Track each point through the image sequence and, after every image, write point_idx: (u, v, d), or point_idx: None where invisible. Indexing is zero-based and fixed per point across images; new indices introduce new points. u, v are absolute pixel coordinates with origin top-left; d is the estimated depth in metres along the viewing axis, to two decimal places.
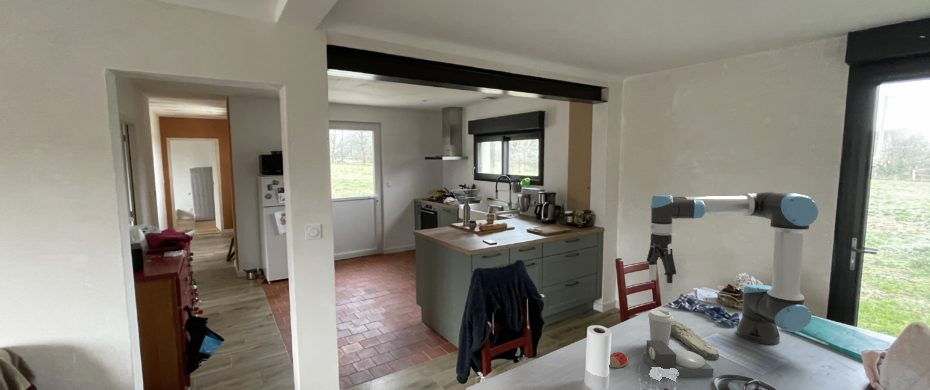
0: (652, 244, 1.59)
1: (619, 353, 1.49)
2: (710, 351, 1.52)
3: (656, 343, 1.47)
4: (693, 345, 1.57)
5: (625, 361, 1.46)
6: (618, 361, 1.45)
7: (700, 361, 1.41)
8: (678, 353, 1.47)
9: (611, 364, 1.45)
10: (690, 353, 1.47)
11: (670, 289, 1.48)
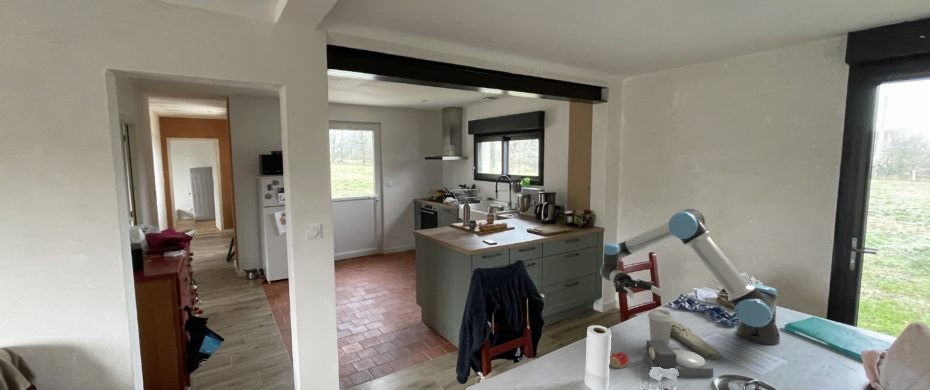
0: None
1: (620, 353, 1.49)
2: (711, 350, 1.52)
3: (656, 343, 1.47)
4: (693, 345, 1.57)
5: (626, 361, 1.46)
6: (619, 361, 1.45)
7: (700, 361, 1.41)
8: (678, 353, 1.47)
9: (612, 364, 1.45)
10: (690, 353, 1.47)
11: (630, 293, 1.68)
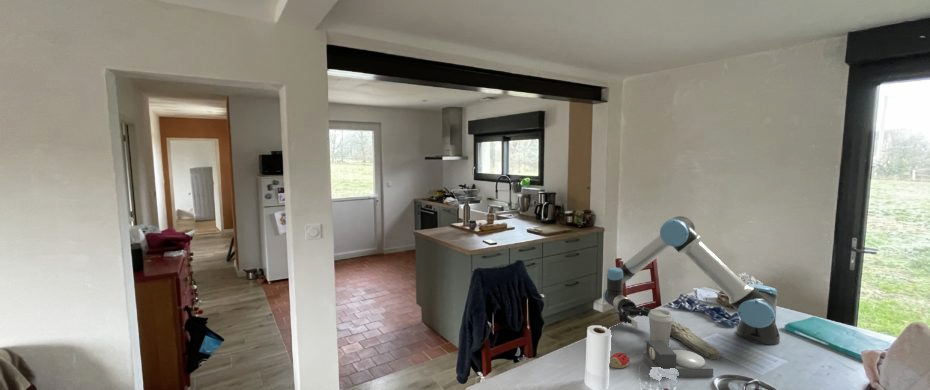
0: None
1: (621, 354, 1.49)
2: (712, 350, 1.52)
3: (656, 343, 1.47)
4: (694, 345, 1.57)
5: (627, 362, 1.46)
6: (620, 361, 1.45)
7: (700, 361, 1.41)
8: (678, 353, 1.47)
9: (613, 364, 1.45)
10: (690, 353, 1.47)
11: (634, 322, 1.65)
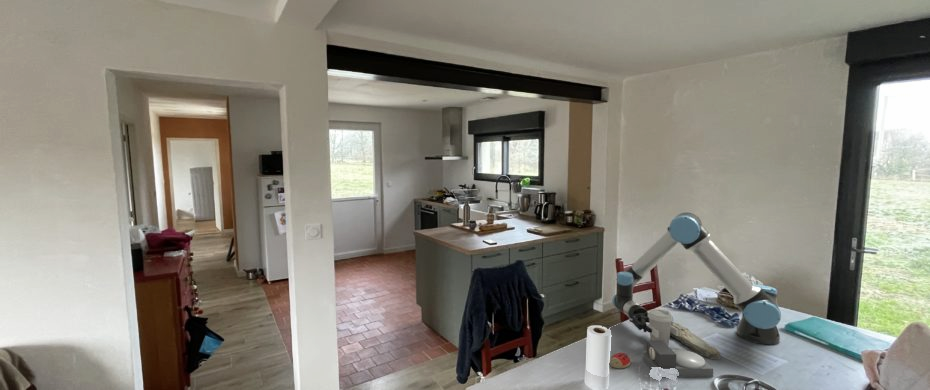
0: None
1: (622, 354, 1.49)
2: (712, 350, 1.52)
3: (656, 343, 1.47)
4: (694, 345, 1.57)
5: (627, 362, 1.46)
6: (620, 362, 1.45)
7: (700, 361, 1.41)
8: (678, 353, 1.47)
9: (613, 365, 1.45)
10: (690, 353, 1.47)
11: (656, 332, 1.55)
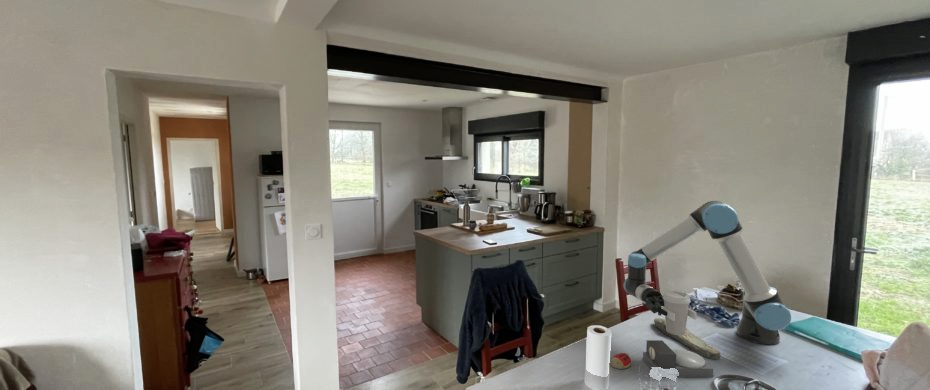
0: None
1: (623, 354, 1.49)
2: (713, 350, 1.52)
3: (656, 343, 1.47)
4: (694, 345, 1.57)
5: (628, 362, 1.46)
6: (621, 362, 1.44)
7: (700, 361, 1.41)
8: (678, 353, 1.47)
9: (614, 365, 1.45)
10: (690, 353, 1.47)
11: (672, 315, 1.43)
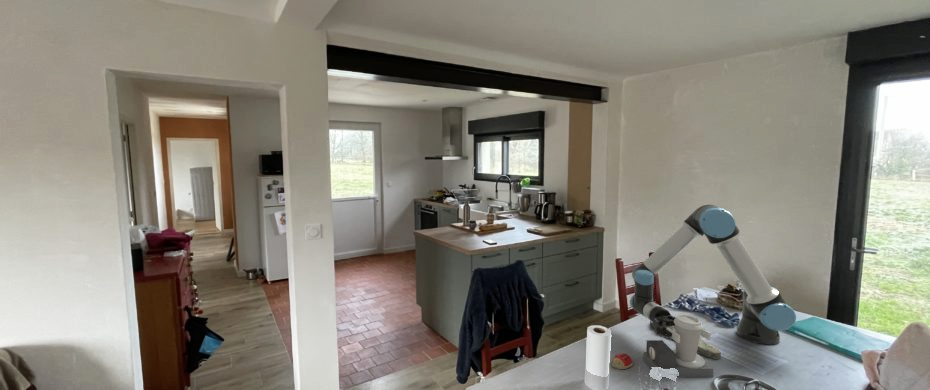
0: None
1: (624, 354, 1.48)
2: (713, 350, 1.52)
3: (656, 343, 1.47)
4: None
5: (630, 362, 1.45)
6: (622, 362, 1.44)
7: (700, 361, 1.41)
8: None
9: (615, 365, 1.45)
10: None
11: (677, 336, 1.39)
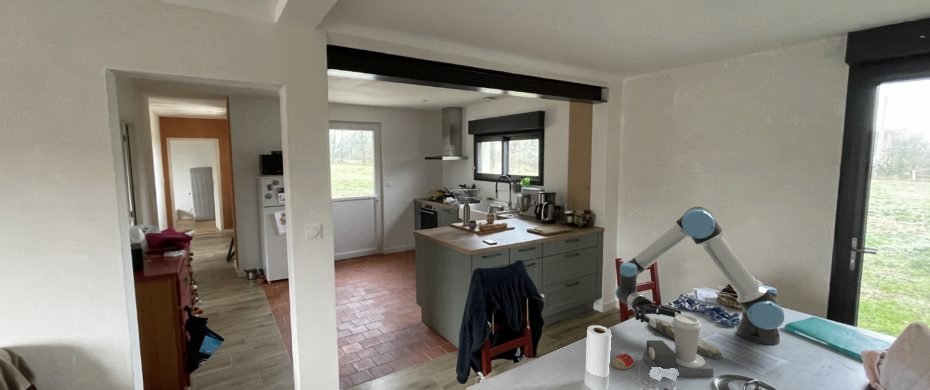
0: None
1: (625, 355, 1.48)
2: (714, 350, 1.52)
3: (656, 343, 1.47)
4: None
5: (631, 363, 1.45)
6: (623, 363, 1.44)
7: (700, 361, 1.41)
8: None
9: (616, 365, 1.44)
10: None
11: (653, 322, 1.52)
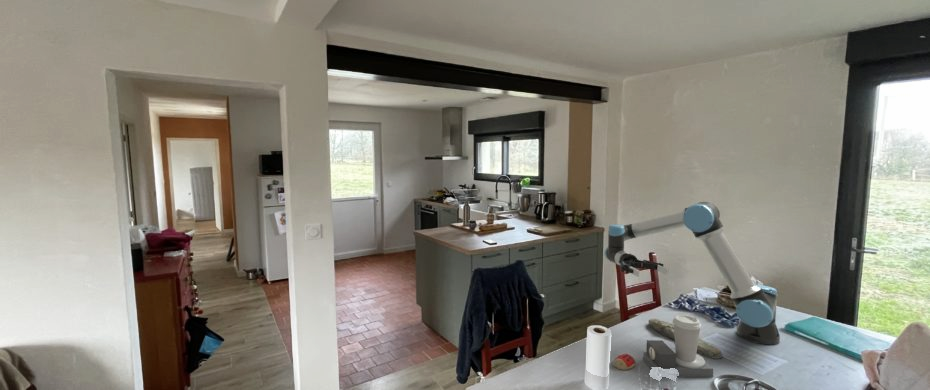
0: None
1: (626, 355, 1.48)
2: (714, 349, 1.52)
3: (656, 343, 1.47)
4: None
5: (632, 363, 1.45)
6: (624, 363, 1.44)
7: (700, 361, 1.41)
8: None
9: (617, 366, 1.44)
10: None
11: (637, 271, 1.64)
